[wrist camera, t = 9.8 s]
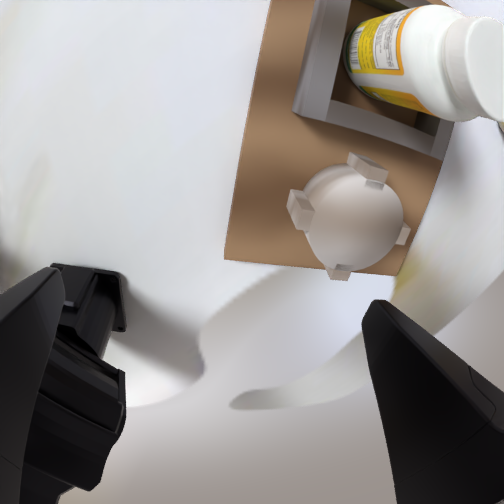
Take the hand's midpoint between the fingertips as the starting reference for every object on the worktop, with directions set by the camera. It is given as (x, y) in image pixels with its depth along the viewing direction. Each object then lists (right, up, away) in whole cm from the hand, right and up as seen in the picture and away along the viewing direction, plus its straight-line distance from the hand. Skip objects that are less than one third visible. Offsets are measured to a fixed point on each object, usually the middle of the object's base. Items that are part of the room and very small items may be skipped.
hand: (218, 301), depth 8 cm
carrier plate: (+8, +10, +9) cm, 15 cm away
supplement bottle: (+9, +13, +6) cm, 16 cm away
